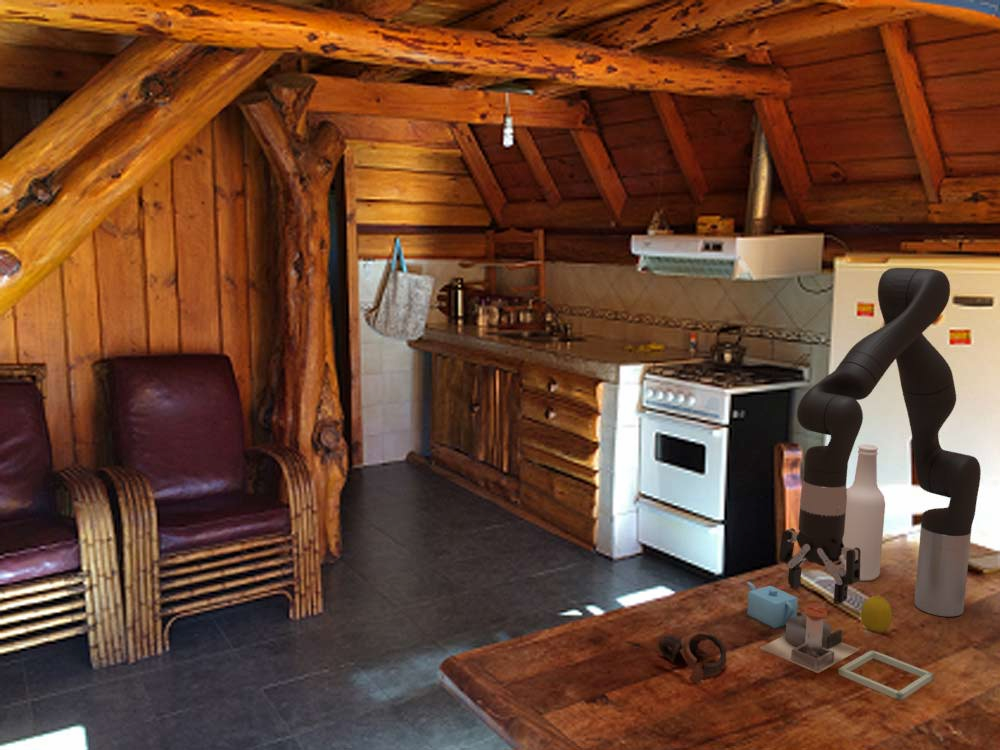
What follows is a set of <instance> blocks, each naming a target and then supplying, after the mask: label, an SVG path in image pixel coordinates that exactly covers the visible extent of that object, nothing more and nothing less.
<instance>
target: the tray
mask: <svg viewBox="0 0 1000 750" xmlns="http://www.w3.org/2000/svg"><path fill="white" fill-rule="evenodd" d="M873 659H874V660H876V661H878V662H882V663H885V664H887V665H889V666H892V667H895V668H897V669H900V670H902V671H905V672H907V673H910V674H913V675H915V676H917V677H919V678H918V679H916V680H914V681H913V682H911V683H910V684H908V685H906V686H905V687H904V688H902V689H900V690H896V689H894V688H892V687H889V686H887V685H884V684H882V683H879V682H877V681H875V680H873V679H870V678H867V677H866V676H863V675H860V674H858V673H856V672H853V671H854V670H856V669H858V667H860V666H863V665H864V664H866V663H868V662H869V661H871V660H873ZM837 671H838V673H837V675H838V676H841V677H843V678H846V679H848V680H851V681H853V682H855V683H858V684H860V685H863V686H865V687H866V688H869V689H872V690H873V691H876V692H879V693H880V694H883V695H886V696H888V697H891V698H893V699H896V700H897V701H900V702H902V701H903V700H905V699H906V698H908V697H909V696H910V695H912V694H914V693H915V692H917V691H918V690H920V689H921V688H923V687H924V686H926V685H927V684H929V683H930V682H931V681H933V680H934V674H935V673H933V672H930V671H927V670H924V668H923V669H922V668H919V667H918V666H917V667H916V666H915V665H912V664H910V663H907V662H905V661H901V660H899V659H897V658H895V657H891V656H889V655H886V654H884V653H881V652H878V651H876V650H873V649H871V650H869V651H867V652H865V653H864V654H862V655H860V656H858V657H857V658H854V659H853V660H852V661H850V662H848V663H846V664H844V665H843V666H841V667H839V668H838V670H837Z"/></svg>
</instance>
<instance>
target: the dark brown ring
mask: <svg viewBox="0 0 1000 750" xmlns="http://www.w3.org/2000/svg"><path fill="white" fill-rule="evenodd" d="M707 640H709V641H711V642H712V643H713V644H714V645H715V646H716V647H717V648H718V649H719V651H720V657H719V658H718V660H717V661H715V662H702V666H701V665H699V664H697V661H698V658H697V657H696V656H695V655H694V654H693V653H700V654H704V655H707V654H708V651H707V650H705V649H703V648H701V647H700V646H699V644H700V643H701V642H703V641H707ZM657 646H658V648H659V650H660V652H661V653H662V655H663V656H664V657H666V658H667V659H668V660H669V661H670V663H671V665H672V666H674V665H675V660H676V657H678V656H680V655H681V656H682V658H683V660H684V661H685V663H686V664H687V665H688V667H689V668H691V670H692V672H691V674H690V676H689V678H688V679H689V681H690V682H692V683H694V684H696V683H698V684H699V683H700V682H702V681H706V678H714V677H717V676H719V675H720V674H721V673H722V670H723V671H724V669H725V667H726V665H727V660H728V659H727V651H726V647H725V646H724V643H723V642H722V641H721V640H720V639H719V638H718V637H717V636H715V635H714V634H712V633H709V632H706V631H695V632H691V633H690V634H688V635H685V636H684V637H682V638H679V637H676V636H673V635H663V636H662V637H661V638H660V639H659V640H658V642H657Z"/></svg>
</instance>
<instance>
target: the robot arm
mask: <svg viewBox="0 0 1000 750" xmlns="http://www.w3.org/2000/svg"><path fill="white" fill-rule="evenodd" d="M950 295H951V284H950V280H949V278H948V276H947V275H946V274H945V272H943V271H941V270H938V269H934V268H933V269H932V268H923V267H922V268H919V267H918V268H917V267H915V268H914V267H892V268H888V269H887V270H885V271H884V272H883V273H882V274H881V276H880V278H879V281H878V285H877V300H878V304H879V309H880V312H881V316H882V318H883V323H884V324H885V325H884V326H882V327H880V328H878V329H876V330H874V331H873V332H871V333H869V334H868V335H866V336H864V337H863V338H862V339H860V340H859V341H857V342H856V343H855V344H854V345H853V346H852V347H851V348H850V349H849V350H848V352H847V353H846V354H845V356H844V358H842V360H841V361H840V363H839V364H838V366H837V367H836V368H835V370H834V371H832V372H831V373H829V374H828V375H826V376H825V377H824V378H823V379H821V380H820V381H819V382H817V383H816V384H815V385H814V386H812V387H811V388H809V390H808V391H806V392H805V394H804V395H803V396H802V397H801V399H800V401H799V403H798V406H797V410H796V417H797V421H798V423H799V425H800V426H801V427H802V428H804V429H805V430H807V431H809V432H814V433H817V434H823V435H827V436H830V439H829V442H828V443H827V445H816V446H811V447H809V448H808V449H807V450H806V453H805V455H804V456H805V457H804V464H803V465H804V466H803V478H802V479H803V480H802V486H801V490H800V499H799V502H800V504H799V516H798V530H799V532H798V531H796V530H795V528H789V529H785V530H783V531H782V532H781V540H780V547H779V556H778V560H779V562H780V563H783V564H785V565H786V566H787V567H788V577H787V581H788V585H789V588H790V589H792V590H797V589H799V588H800V587H801V580H802V567H801V565H802V564H803V563H804V562H805V561H806V560H807V562H808V563H814V564H818V565H819V566H822V567H826V569H827V571H828V573H829V574H831V575H832V577H833V579H834V582H835V584H834V590H833V591H834V594H833V604H835V605H837V606H840V605H842V604H843V603H844V602H846V601H847V598H848V589H849V588H848V587H849V585H850V586H851V585H853V584H856V583H858V582H860V553H861V551H860V549H859V548H857V547H856V548H853V549H852V548H847V547H844V545H843V541H842V540H843V536H844V528H845V515H846V502H847V492H846V491H847V479H848V478H847V477H848V465H849V460H850V457H851V454H852V451H853V449H854V446H855V443H856V440H857V437H858V435H859V433H860V430H861V428H862V424H863V419H864V413H863V409H862V407H861V404H860V402H858V401H860V400H861V401H862V400H864V399H866V398H868V396H869V395H871V393H872V392H873V390H874V389H875V388H876V386H877V385H878V383H879V382H880V381H881V379H882V378H883V377H884V375H885V374H886V372H887V371H888V369H889V368H890V366H892V364H893V363H894V362H895V361H896V365H897V370H898V374H899V380H900V387H901V392H902V395H903V396H902V397H903V401H904V405H905V407H906V412H907V416H908V422H909V427H910V432H911V440H912V448H913V459H914V467H915V468H914V470H915V476H916V477H915V478H916V480H917V483H918V485H919V487H920V488H921V489H922V490H923V491H925V492H927V493H930V494H933V495H937V496H941V497H946V498H949V503H948V505H947V507H939V508H938V507H937V508H931V509H927V510H925V511H924V512H923V513H922V515H921V521H920V522H921V523H920V533H919V545H918V555H917V556H918V559H917V568H916V569H917V570H916V580H915V590H914V591H915V592H914V601H913V603H914V606H915V607H916V608H917V609H919V611H920V610H921V611H923V612H924V613H926V614H927V613H928V614H929V615H934V616H938V617H939V616H940V617H949V618H950V617H958V616H961V615H963V613H964V609H965V598H966V589H967V588H966V587H967V580H968V568H969V567H968V566H969V560H970V559H969V557H970V546H971V536H972V527H973V522H974V519H975V516H976V508H977V501H978V496H979V495H978V494H979V490H980V484H981V483H980V482H981V475H982V474H981V471H982V470H981V465H980V462H979V460H978V459H977V458H976V457H975V456H972V455H969V454H964V453H961V452H954V451H951V450H950V451H949V450H945V449H943V448H942V447H941V445H940V438H939V432H940V430H941V428H942V427H943V426H944V424H945V422H946V421H947V420H948V418H949V417H950V415H951V414H952V412H953V411H954V408H955V406H956V403H957V392H956V387H955V381H954V375H953V371H952V369H951V367H950V365H949V363H948V362H947V360H946V359H945V357H943V355H942V354H941V353H940V352H939V350H937V348H936V347H935V346H934V345H933V344H932V343H931V342H930V341H929V340H928V339H927V337H926V336H925V335H924V334H923V333H924V332H925V331H926V330H927V329H928V328H929V327H930V326H931V325H932V324H934V322H935V321H936V320H937V319H938V318H939V317H940V316H941V314H942V313H944V312H943V311H944V310H945V309H946V308H947V306H948V303H949V299H950ZM795 543H797V544H798V546H799V548H800V549H799V550H798V551H797V552H796V553H795V554H794V547H795ZM841 554H843V555H844V560H846V570H845V564H844V563H843V561H842V559H841V557H840V555H841ZM834 563H835V565H834Z"/></svg>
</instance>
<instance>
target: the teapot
mask: <svg viewBox="0 0 1000 750" xmlns="http://www.w3.org/2000/svg"><path fill="white" fill-rule="evenodd" d="M746 584H747V585H748V586H749V588H750V590H749V591H748V596H747V597H748V599H747V615H748V616H750V617H752V618H753V619H756V620H757V621H760V622H762V623H764V624H765V625H768V626H769V627H772V628H773V629H776V628H780V627H784V626H786V621H787V620H788V619H790V618H793V617H798V602H799V601H798V600H799V598H798V597H796V596H794V595H792V594H790V593H787V592H785V591H783V590H781V589H779V588H777V587H775V586H772V585H768V586H767V585H766V586H764V587H760V588H757V589H756V586H755V584H754V583H752V582H751V581H746Z"/></svg>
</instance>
